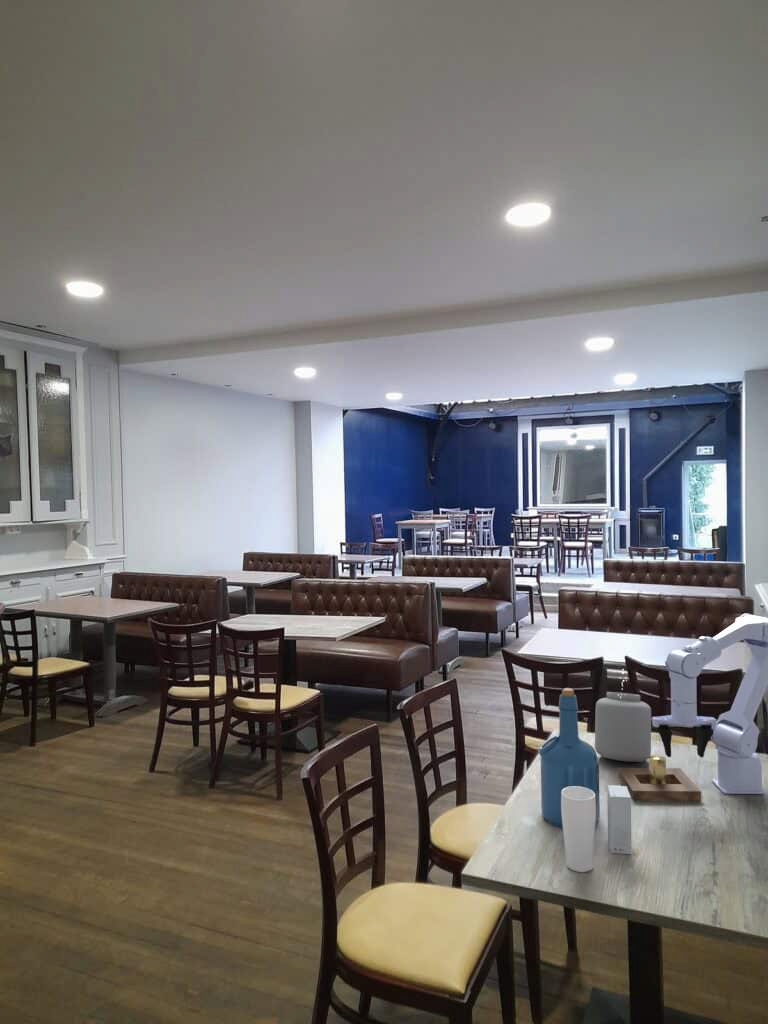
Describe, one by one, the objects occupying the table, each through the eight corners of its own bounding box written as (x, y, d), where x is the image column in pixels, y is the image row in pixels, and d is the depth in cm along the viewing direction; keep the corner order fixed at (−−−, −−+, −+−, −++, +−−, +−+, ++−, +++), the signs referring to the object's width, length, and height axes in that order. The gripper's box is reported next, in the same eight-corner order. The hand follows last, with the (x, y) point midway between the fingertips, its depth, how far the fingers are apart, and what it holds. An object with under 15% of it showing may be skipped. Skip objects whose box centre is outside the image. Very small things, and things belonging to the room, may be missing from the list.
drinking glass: (557, 858, 142) (556, 786, 141) (589, 856, 142) (588, 784, 142) (569, 876, 135) (567, 801, 135) (602, 874, 135) (601, 799, 135)
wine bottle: (603, 810, 162) (601, 684, 162) (595, 836, 150) (593, 700, 150) (545, 800, 168) (543, 679, 167) (533, 825, 156) (530, 694, 155)
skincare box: (632, 855, 142) (631, 797, 142) (610, 853, 143) (609, 796, 143) (628, 840, 148) (627, 785, 148) (607, 839, 149) (606, 784, 149)
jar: (602, 743, 205) (601, 660, 205) (655, 751, 199) (654, 665, 198) (590, 766, 189) (588, 675, 188) (647, 775, 182) (646, 681, 181)
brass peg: (662, 785, 175) (661, 754, 175) (669, 792, 171) (668, 760, 171) (646, 786, 175) (646, 755, 175) (653, 793, 171) (652, 761, 171)
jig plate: (680, 777, 180) (680, 768, 180) (701, 801, 166) (701, 791, 166) (617, 777, 181) (617, 767, 181) (633, 800, 167) (633, 790, 167)
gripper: (658, 705, 164) (659, 761, 164) (721, 705, 163) (721, 762, 163) (649, 696, 171) (649, 750, 171) (709, 696, 170) (709, 751, 170)
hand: (684, 755), depth 168 cm, fingers open, 7 cm apart
